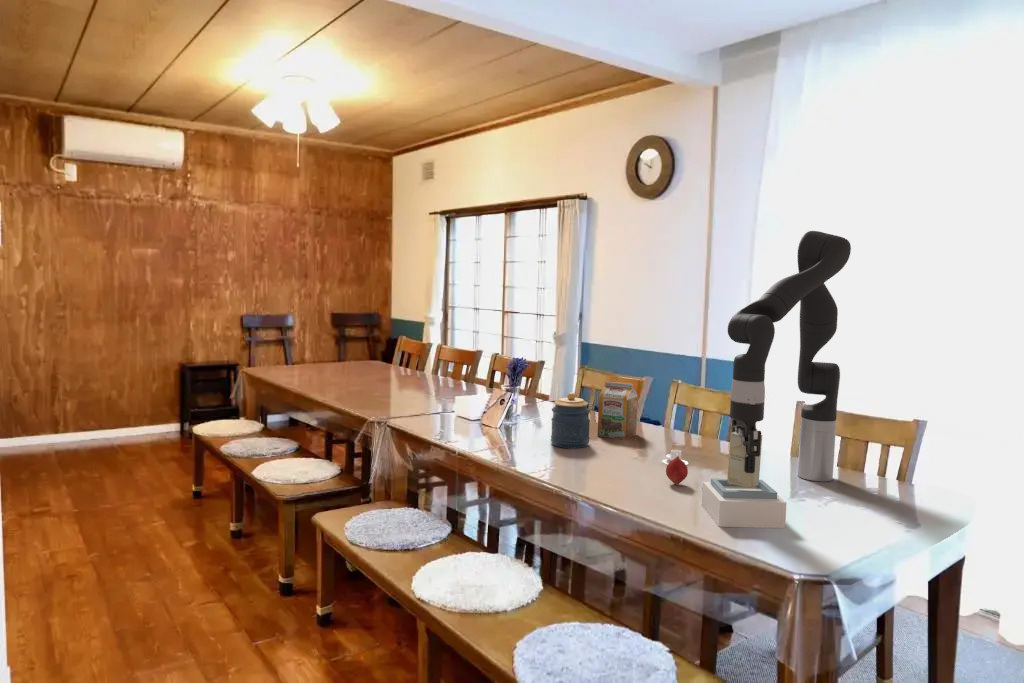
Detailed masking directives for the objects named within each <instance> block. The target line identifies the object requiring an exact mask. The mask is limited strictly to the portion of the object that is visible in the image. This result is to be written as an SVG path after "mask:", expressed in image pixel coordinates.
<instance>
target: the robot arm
mask: <svg viewBox="0 0 1024 683" xmlns="http://www.w3.org/2000/svg"><path fill="white" fill-rule="evenodd" d="M851 250H852V247H851V242H850V241H849V240H848V239H847V238H845V237H842V236H839V235H836V234H835V235H834V234H831V233H826V232H823V231H820V230H819V231H817V230H810V231H809V230H808V231H807V232H805V233H804V234H803V235H802V237H801V238H800V241H799V243H798V247H797V268H798V273H794V274H792V275H789V276H787V277H784V278H782V279H779V280H778V281H776V283H773V285H771V286H770V287H769V288H768V289H767V290H766V291H765V292H764V294H762V295H761V296H760V298H758V299H756V300H755V301H753V302H751V303H750V304H747V305H746V306H744V308H742V309H740V310H739V311H737V312H735V314H734V315H733V316H731V318H730V320H729V322H728V325H727V335H728V337H729V339H730V340H732V341H733V342H734V343H738V344H745V345H749V346H748V348H747V352H746V353H740V354H737V355H736V356H735V357H734V359H733V364H732V365H733V366H732V367H733V368H732V381H731V382H732V383H731V389H730V404H729V405H730V406H729V408H730V409H729V417H730V418H731V419H732V420H731V433H732V432H736V433H739V436H740V438H741V445H742V447H743V448H744V452H745V464H744V471H745V472H746V473H754V472H755V457H759V456H760V445H761V435H762V431H761V430H758V429H757V426H756V425H757V424H756V423H758V422H762V421H763V420H764V418H765V417H764V416H765V399H766V398H765V397H766V395H765V394H766V386H765V376H766V375H765V373H766V370H765V369H766V363H767V359H768V357H769V353H770V351H771V347H772V345H773V341H774V338H775V334H776V333H775V330H776V329H775V325H774V323H778V322H779V321H781V320H782V319H783V318H784V317H786V316H787V315H788V313H789V312H790V311H792V309H793V308H795V306H796V305H797V304H798V303H799V302H800V303H799V304H800V306H799V355H798V356H799V358H798V368H797V388H798V389H799V391H800V392H801V393H804V394H807V395H808V394H809V395H821V396H825V397H824V399H823V400H821V401H819V402H816V403H813V404H808V405H805V406H802V408H801V411H800V412H801V413H800V428H799V430H800V432H799V444H798V445H799V449H798V466H797V476H798V477H799V478H801V479H804V480H808V481H811V482H812V481H814V482H831V481H833V479H834V478H833V477H834V466H835V465H834V463H835V446H836V432H837V431H836V430H837V429H836V428H837V410H838V396H839V390H840V380H841V368H840V367H839V365H838V364H837V363H834V362H824V361H823V362H821V361H813V360H814V359H815V357H816V355H817V354H818V352H819V351H820V350H822V348H824V346H826V345H827V344H828V342H830V340H832V339H833V337H834V336H835V334H836V332H837V330H838V315H839V312H838V306H837V303H836V301H835V299H834V297H833V296H832V294H831V292H830V290H829V289H828V287H827V286H826V284H825V283H826V282H827V281H828V280H830V279H831V278H833V277H834V276H835V275H837V274H838V273H839V272H841V270H842V269H843V268H844V267H845V265H846V264H847V262H848V261H849V259H850V256H851ZM747 441H748V443H746V442H747ZM752 447H753V451H751V450H752Z"/></svg>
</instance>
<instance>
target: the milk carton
mask: <svg viewBox="0 0 1024 683" xmlns="http://www.w3.org/2000/svg"><path fill="white" fill-rule="evenodd" d="M638 396H639V395H638V392H636V390H635V389H634V385H633V383H626V382H625V383H623V382H612V381H605V382H604V386H603V387H602V389H601V391H600V393H599V396H598V409H597V410H598V412H597V436H598V437H604V438H610V439H616V438H617V440H623V439H624V441H625V440H628V439H630V438H632V437H634V436H635V435H637V425H638V423H637V421H638V419H637V418H638V398H639V397H638ZM627 438H628V439H627Z"/></svg>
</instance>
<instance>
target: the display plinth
mask: <svg viewBox="0 0 1024 683" xmlns="http://www.w3.org/2000/svg"><path fill="white" fill-rule="evenodd" d="M727 480H728V478H710V481H702V492H701V493H702V495H701V496H702V497H701V507H703V509H704V510H705V512H706V513H707V514H708V515H709V516H710V517H711V519H712V520H713V521H714V523H715V524H716V525H717V526H718V527H721V528H725V527H726V528H754V529H755V528H761V529H762V528H763V529H764V528H765V529H766V528H767V529H786V520H787V519H786V518H787V503H788V502H787V501H786V500H784V499H783V498H782V497H780V495H778V492H777V491H776V489H774V488H772V487H771V486H770V485H769V484H768V483H766V482H765V481H764V480H763V479H759V485H757V486H755V487H753V488H748V487H743V486H739V485H735V484H731V483H728V482H727Z"/></svg>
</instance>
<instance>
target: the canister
mask: <svg viewBox="0 0 1024 683" xmlns="http://www.w3.org/2000/svg"><path fill="white" fill-rule="evenodd" d="M554 404H555V406H554V407H552V408H551V411H552V417H551V434H550V435H551V436H550V441H551V444H552V445H553V446H554V447H558V448H561V449H562V448H563V449H582V448H586V447H588V446H589V445H590V438H591V437H590V422H591V419H590V417H589V415H590V413H591V409H590V408H588V405H589V402H588V401H586V400H584V399H583V398H581V397H576V395H575V393H574V392H569V393H567V397H560V398H558V399H557V400H555V401H554Z"/></svg>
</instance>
